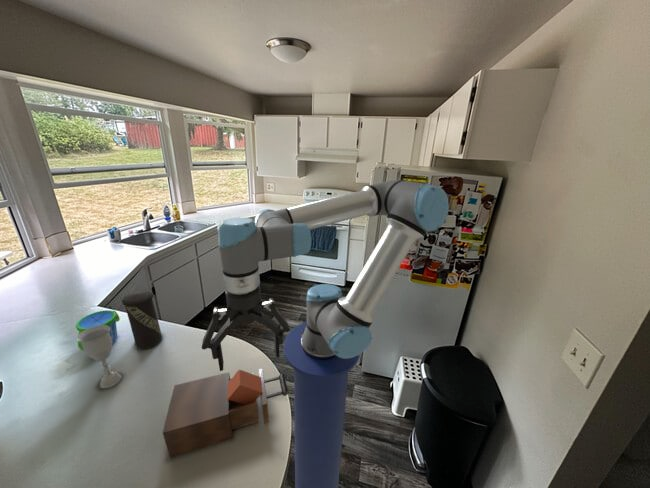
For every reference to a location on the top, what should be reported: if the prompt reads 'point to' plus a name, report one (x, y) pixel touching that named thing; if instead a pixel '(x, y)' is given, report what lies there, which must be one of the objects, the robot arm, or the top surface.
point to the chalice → (99, 351)
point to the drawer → (254, 405)
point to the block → (244, 387)
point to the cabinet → (198, 415)
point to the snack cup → (99, 323)
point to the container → (142, 318)
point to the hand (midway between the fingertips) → (250, 359)
